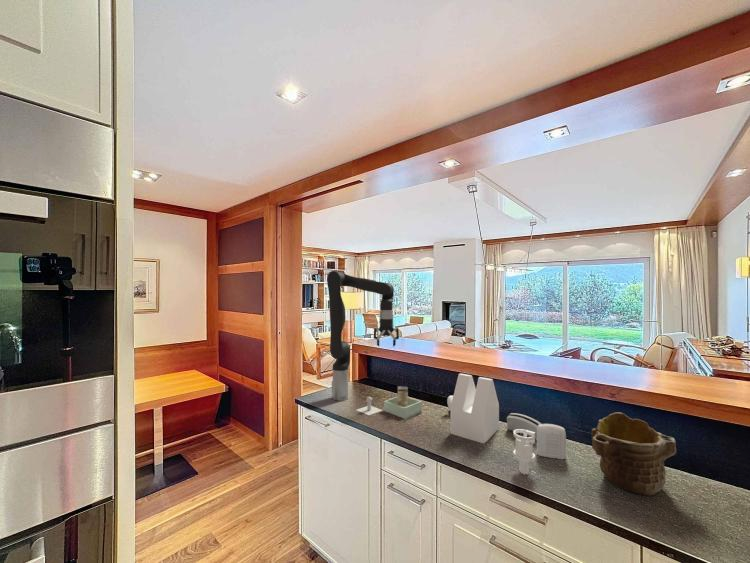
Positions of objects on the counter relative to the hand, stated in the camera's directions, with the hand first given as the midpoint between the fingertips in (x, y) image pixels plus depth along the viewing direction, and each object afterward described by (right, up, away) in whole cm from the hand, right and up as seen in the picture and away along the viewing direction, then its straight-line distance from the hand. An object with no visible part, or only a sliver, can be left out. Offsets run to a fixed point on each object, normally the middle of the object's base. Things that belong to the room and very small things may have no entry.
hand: (386, 346), depth 186 cm
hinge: (+61, -32, -39) cm, 80 cm away
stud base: (-9, -32, -14) cm, 36 cm away
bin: (+8, -32, -15) cm, 36 cm away
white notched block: (+40, -32, -35) cm, 62 cm away
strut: (+8, -31, -15) cm, 35 cm away
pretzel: (+37, -32, -15) cm, 51 cm away
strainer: (+47, -32, -69) cm, 89 cm away
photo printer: (+63, -32, -58) cm, 91 cm away
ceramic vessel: (+79, -32, -76) cm, 114 cm away
